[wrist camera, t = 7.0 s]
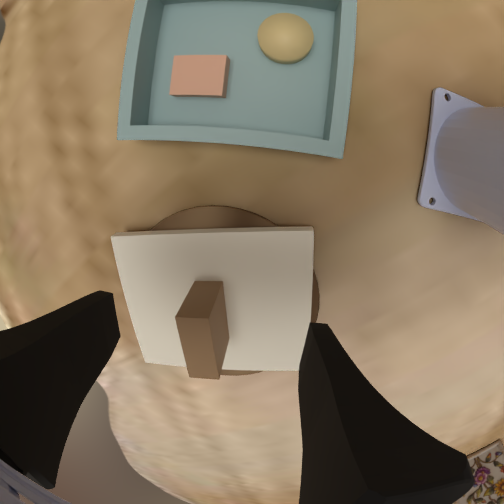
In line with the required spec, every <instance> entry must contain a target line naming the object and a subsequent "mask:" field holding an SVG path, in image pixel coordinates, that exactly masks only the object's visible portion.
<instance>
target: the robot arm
mask: <svg viewBox="0 0 504 504" xmlns="http://www.w3.org/2000/svg"><path fill="white" fill-rule="evenodd" d="M445 94H446V95H447V97H448V101H447V100H446V99H445V97H444V96H445ZM430 198H433V202H432V203H431V204H429V200H430ZM417 200H418V203H419V204H420V205H421V206H423V207H425V208H430V209H434V210H438V211H442V212H446V213H451V214H455V215H459V216H462V217H466V218H470V219H474V220H478V221H481V222H484V223H485V224H487V225H489V226H490V227H492V228H494V229H495V230H497V231H499V232H500V233H502V234H504V107H484V106H482V105H480V104H478V103H476V102H473V101H471V100H469V99H467V98H465V97H462V96H460V95H458V94H455V93H453V92H451V91H448V90H446V89H443V88H440V87H439V88H435V89H434V90H433V94H432V106H431V116H430V125H429V133H428V141H427V148H426V154H425V161H424V166H423V172H422V178H421V183H420V188H419V193H418V199H417ZM119 338H120V331H119V326H118V321H117V316H116V310H115V304H114V298H113V293H109V292H104V291H97V292H94V293H92V294H89V295H87V296H85V297H82V298H80V299H78V300H76V301H74V302H72V303H70V304H68V305H66V306H63V307H61V308H59V309H57V310H55V311H53V312H51V313H48V314H46V315H44V316H42V317H39V318H37V319H35V320H32V321H30V322H27V323H25V324H22V325H19V326H16V327H13V328H10V329H7V330H3V331H0V504H25V503H24V502H23V501H21V500H20V498H19V494H18V493H20V494H21V495H23V496H24V497H26V498H27V499H28V500H30V501H32V502H33V503H35V504H71V503H69V502H67V501H65V500H63V499H62V498H60V497H58V496H56V495H54V494H52V493H51V492H49V491H47V490H46V489H52V488H54V487H55V483H56V478H57V473H58V468H59V464H60V460H61V456H62V452H63V449H64V446H65V443H66V440H67V437H68V435H69V432H70V429H71V426H72V424H73V422H74V419H75V417H76V414H77V412H78V410H79V408H80V406H81V404H82V402H83V400H84V398H85V397H86V395H87V393H88V392H89V390H90V389H91V387H92V385H93V384H94V382H95V381H96V379H97V378H98V376H99V375H100V373H101V372H102V370H103V368H104V367H105V365H106V364H107V362H108V361H109V359H110V357H111V355H112V353H113V351H114V349H115V347H116V345H117V343H118V340H119ZM298 392H299V405H300V417H301V429H302V444H303V456H302V475H301V487H300V498H299V504H453V503H454V502H455V501H457V500H458V499H460V498H461V497H462V496H464V495H465V494H466V493H467V492H468V491H469V490H470V489H471V488H472V487H473V485H474V482H475V479H474V476H473V473H472V470H471V467H470V464H469V461H468V459H467V456H466V455H465V454H463V453H461V452H459V451H457V450H455V449H453V448H451V447H450V446H448V445H446V444H444V443H442V442H440V441H439V440H437V439H435V438H434V437H432V436H431V435H429V434H428V433H426V432H425V431H423V430H422V429H420V428H419V427H418V426H416V425H415V424H413V423H412V422H411V421H410V420H408V419H407V418H406V417H405V416H404V415H402V414H401V413H400V412H399V411H397V410H396V409H395V408H394V407H393V406H392V405H391V404H390V403H389V402H388V401H387V400H386V399H385V398H384V397H383V396H382V395H381V394H380V393H379V392H378V391H377V390H376V389H375V388H374V387H373V386H372V385H371V384H370V382H369V381H368V380H367V379H366V378H365V377H364V375H363V374H362V373H361V372H360V370H359V369H358V368H357V366H356V365H355V364H354V362H353V361H352V360H351V358H350V357H349V356H348V354H347V353H346V351H345V350H344V348H343V347H342V345H341V344H340V342H339V341H338V339H337V338H336V336H335V335H334V333H333V332H332V330H331V329H330V327H329V326H328V324H322V323H312V322H310V323H309V328H308V332H307V336H306V340H305V344H304V348H303V352H302V356H301V360H300V364H299V384H298ZM17 471H18V472H17ZM19 472H20V473H21V474H23V475H25V476H26V477H28V478H29V479H31V480H32V481H34V482H36V483H37V484H39V485H40V486H39V485H37V484H36V483H34V482H32V481H31V480H29V479H28V478H26V477H25V476H23V475H21V474H20V473H19ZM41 486H42V487H44V488H45V489H44V488H42V487H41Z"/></svg>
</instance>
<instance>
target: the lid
mask: <svg viewBox="0 0 504 504" xmlns="http://www.w3.org/2000/svg"><path fill="white" fill-rule="evenodd" d="M111 241H112V246H113V250H114V255H115V259H116V263H117V268H118V272H119V276H120V280H121V284H122V288H123V291H124V295H125V299H126V302H127V306H128V310H129V313H130V316H131V320H132V323H133V326H134V330H135V333H136V336H137V339H138V342H139V345H140V348H141V351H142V354H143V357H144V360H145V362H146V363H155V364H163V365H173V366H183V367H187V370H188V373H189V377H193V378H205V379H219V378H220V374H221V370H222V369H225V370H252V371H299V364H300V360H301V356H302V352H303V348H304V344H305V340H306V336H307V332H308V328H309V323H310V322H311V305H312V283H313V251H314V229H313V226H303V227H250V228H214V229H185V230H160V231H138V232H118V233H115V234H114V235H112V236H111Z"/></svg>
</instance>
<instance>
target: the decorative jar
mask: <svg viewBox="0 0 504 504" xmlns="http://www.w3.org/2000/svg"><path fill="white" fill-rule="evenodd" d="M467 459H468V461H469V464H470V467H471V470H472V473H473V476H474V479H475V482H474V485H473V487H472V488H471V489H470V490H469V491H468V492H467V493H466V494H465V495H464V496H462V497H461V498H460V499H458V500H457V501H455V502H454V503H453V504H504V447H503V444H502V442H501V440H498V441H496V442H494V443H492V444H490V445H488V446H486V447H484V448H483V449H481V450H479V451H477V452H475V453H473V454H470V455H468V456H467Z"/></svg>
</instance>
